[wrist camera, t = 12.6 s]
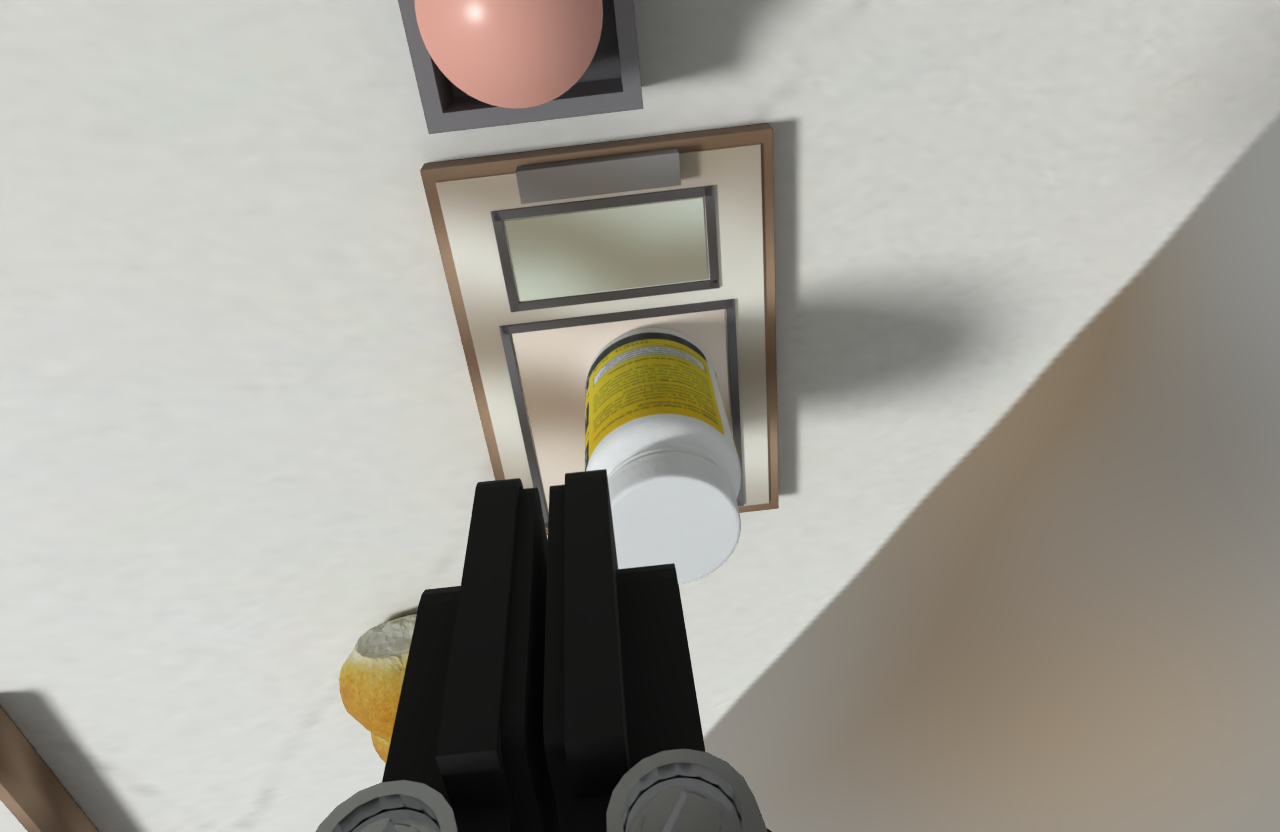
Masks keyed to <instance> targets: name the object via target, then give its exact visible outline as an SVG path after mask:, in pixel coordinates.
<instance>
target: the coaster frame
mask: <svg viewBox="0 0 1280 832" xmlns="http://www.w3.org/2000/svg"><path fill="white" fill-rule="evenodd" d="M0 800H1V801H2V802H3V803H4V804H5V806H6V807H7V808H8V809H9V810H10V811H11V812H12V814H13V815H14V816H15V817H16V818H17V819H18V821H19V822H20V823H21V824H22V825H23V826H24V828H25V829H26V830H27V831H28V832H99V831H98V830H97V829H96V828H95V826H94V825H93V824H92V823H91V821H90V820H89V819H88V817H87V816H86V815H85V814H84V812H83V811H82V810H81V809H80V807H79V806H78V805H77V803H76V802H75V801H74V800H73V798H72V797H71V796H70V794H69V793H68V792H67V791H66V789H65V788H64V787H63V786H62V784H61V783H60V782H59V780H58V779H57V778H56V777H55V775H54V774H53V773H52V772H51V770H50V769H49V768H48V766H47V765H46V764H45V763H44V761H43V760H42V759H41V757H40V756H39V755H38V754H37V752H36V751H35V750H34V749H33V747H32V746H31V745H30V743H29V742H28V741H27V740H26V738H25V737H24V736H23V735H22V733H21V732H20V731H19V729H18V728H17V727H16V726H15V724H14V723H13V722H12V720H11V719H10V718H9V717H8V715H7V714H6V713H5V712H4V710H3V709H2V708H1V706H0Z"/></svg>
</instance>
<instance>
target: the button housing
mask: <svg viewBox="0 0 1280 832" xmlns="http://www.w3.org/2000/svg"><path fill="white" fill-rule="evenodd" d="M398 3H399V7H400V11H401V16H402V20H403V24H404V29H405V33H406V37H407V42H408V46H409V50H410V54H411V59H412V63H413V67H414V72H415V76H416V80H417V85H418V89H419V93H420V98H421V102H422V106H423V110H424V115H425V119H426V123H427V128H428V132H429V134H434V133H442V132H451V131H459V130H467V129H476V128H484V127H493V126H501V125H510V124H518V123H526V122H535V121H543V120H552V119H560V118H569V117H577V116H585V115H594V114H602V113H611V112H619V111H628V110H636V109H643V100H642V90H641V79H640V69H639V59H638V48H637V38H636V27H635V17H634V6H633V0H602V5H603V21H602V30H601V35H600V40H599V43H598V46H597V50H596V52H595V55H594V57H593V59H592V61H591V63H590V65H589V66H588V68H587V70H586V71H585V73H584V74H583V75H582V76H581V78H580V79H579V80H578V81H577V82H576V83H575V84H574V85H573V86H572V87H571V88H570V89H569V90H568V91H566V92H565V93H563V94H562V95H560V96H559V97H557V98H555V99H553V100H551V101H549V102H547V103H544V104H541V105H538V106H534V107H528V108H515V109H514V108H503V107H498V106H494V105H490V104H487V103H484V102H482V101H479V100H477V99H475V98H473V97H471V96H469V95H468V94H466V93H465V92H463V91H462V90H461V89H459V88H458V87H457V86H456V85H454V84H453V83H452V82H451V81H450V80H449V79H448V78H447V77H446V76H445V75H444V74H443V73H442V72H441V70H440V69H439V68H438V66H437V65H436V64H435V62H434V61H433V59H432V57H431V56H430V54H429V52H428V50H427V48H426V46H425V44H424V42H423V39H422V37H421V34H420V30H419V27H418V23H417V18H416V12H415V0H398Z"/></svg>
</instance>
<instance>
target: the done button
mask: <svg viewBox="0 0 1280 832" xmlns="http://www.w3.org/2000/svg"><path fill="white" fill-rule="evenodd" d="M415 12H416V18H417V23H418V27H419V30H420V34H421V37H422V39H423V42H424V44H425V46H426V48H427V50H428V52H429V54H430V56H431V57H432V59H433V61H434V62H435V64H436V65H437V66H438V68H439V69H440V70H441V72H442V73H443V74H444V75H445V76H446V77H447V78H448V79H449V80H450V81H451V82H452V83H453V84H454V85H456V86H457V87H458V88H459V89H461V90H462V91H463V92H465V93H466V94H468V95H469V96H471V97H473V98H475V99H477V100H479V101H482V102H484V103H487V104H490V105H494V106H498V107H503V108H514V109H515V108H528V107H534V106H538V105H541V104H544V103H547V102H549V101H551V100H553V99H555V98H557V97H559V96H560V95H562V94H563V93H565V92H566V91H568V90H569V89H570V88H571V87H572V86H573V85H574V84H575V83H576V82H577V81H578V80H579V79H580V78H581V76H582V75H583V74H584V73H585V71H586V70H587V68H588V66H589V65H590V63H591V61H592V59H593V57H594V55H595V52H596V50H597V46H598V43H599V40H600V35H601V30H602V21H603V5H602V0H415Z"/></svg>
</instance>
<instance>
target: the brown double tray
mask: <svg viewBox="0 0 1280 832" xmlns="http://www.w3.org/2000/svg"><path fill="white" fill-rule="evenodd" d="M420 172H421V176H422V180H423V184H424V188H425V193H426V197H427V201H428V205H429V209H430V213H431V217H432V221H433V225H434V230H435V234H436V238H437V242H438V246H439V250H440V254H441V258H442V262H443V267H444V271H445V275H446V279H447V283H448V287H449V291H450V295H451V299H452V304H453V308H454V312H455V316H456V320H457V324H458V328H459V332H460V336H461V341H462V345H463V349H464V353H465V357H466V361H467V365H468V369H469V373H470V378H471V382H472V386H473V390H474V394H475V398H476V402H477V406H478V410H479V415H480V419H481V423H482V427H483V431H484V435H485V439H486V443H487V447H488V452H489V456H490V460H491V464H492V468H493V472H494V476H495V480H506V479H515V478H520V479H521V481H522V484H523V488H524V489H526V488H536V487H537V488H538V491H539V495H540V501H541V506H542V512H543V518H544V523H545V529H546V534H547V535H548V520H549V489H550V486H555V485H565V473H573V472H583V471H585V387H586V378H587V374H588V371H589V368H590V366H591V363H592V361H593V360H594V358H595V357H596V355H597V354H598V353H599V351H600V350H601V349H602V348H603V347H604V346H605V345H607V344H608V343H609V342H610V341H612V340H613V339H615V338H617V337H618V336H620V335H622V334H624V333H627V332H629V331H633V330H636V329H641V328H665V329H670V330H673V331H676V332H679V333H681V334H683V335H685V336H687V337H688V338H690V339H691V340H693V341H694V342H695V343H697V344H698V345H699V346H700V347H701V348H702V349H703V350H704V352H705V353H706V354H707V356H708V357H709V359H710V361H711V362H712V365H713V367H714V370H715V373H716V376H717V381H718V384H719V388H720V392H721V395H722V399H723V403H724V406H725V410H726V414H727V417H728V421H729V425H730V429H731V432H732V436H733V439H734V443H735V446H736V450H737V453H738V457H739V462H740V468H741V485H740V490H739V494H738V497H737V504H738V509H739V513H742V512H750V511H759V510H768V509H777V508H779V506H778V444H777V381H776V318H775V256H774V193H773V131H772V128H771V126H770V125H769V124H768V123H764V124H756V125H747V126H739V127H730V128H722V129H713V130H705V131H696V132H688V133H680V134H671V135H663V136H654V137H646V138H637V139H629V140H620V141H612V142H603V143H595V144H587V145H578V146H570V147H561V148H553V149H544V150H536V151H527V152H519V153H511V154H502V155H494V156H485V157H477V158H468V159H460V160H451V161H443V162H435V163H426V164H424V165H423V167H422V168H421V170H420Z"/></svg>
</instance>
